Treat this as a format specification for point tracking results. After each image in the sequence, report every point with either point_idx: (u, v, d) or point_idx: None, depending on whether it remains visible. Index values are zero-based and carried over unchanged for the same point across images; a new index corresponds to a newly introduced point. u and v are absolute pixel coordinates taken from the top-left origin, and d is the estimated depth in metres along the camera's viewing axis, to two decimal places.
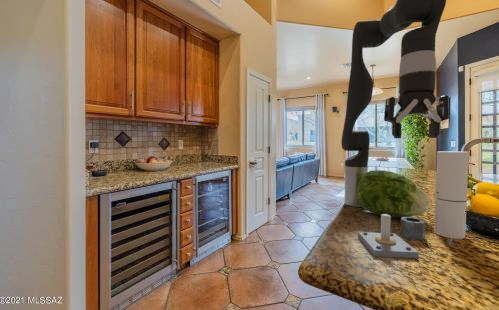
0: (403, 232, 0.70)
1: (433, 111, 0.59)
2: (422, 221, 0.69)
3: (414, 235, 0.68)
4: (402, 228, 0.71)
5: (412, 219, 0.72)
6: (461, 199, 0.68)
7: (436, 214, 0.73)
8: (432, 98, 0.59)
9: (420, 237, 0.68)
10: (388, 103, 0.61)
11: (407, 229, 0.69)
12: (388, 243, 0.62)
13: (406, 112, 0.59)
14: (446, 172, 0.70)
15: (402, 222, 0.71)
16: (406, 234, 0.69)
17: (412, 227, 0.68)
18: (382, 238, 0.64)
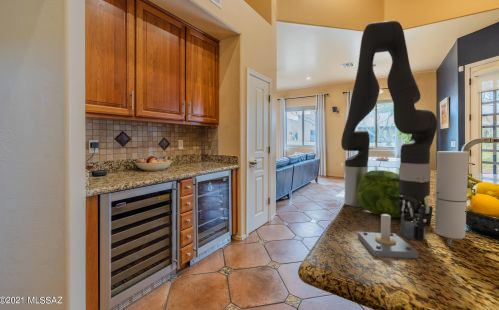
0: (403, 232, 0.70)
1: None
2: None
3: None
4: (402, 228, 0.71)
5: (412, 219, 0.72)
6: (461, 199, 0.68)
7: (436, 214, 0.73)
8: None
9: None
10: (429, 212, 0.64)
11: (407, 229, 0.69)
12: (388, 243, 0.62)
13: None
14: (446, 172, 0.70)
15: (402, 222, 0.71)
16: (406, 234, 0.69)
17: (412, 227, 0.68)
18: (382, 238, 0.64)
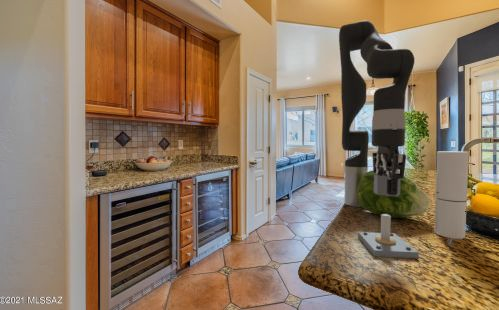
0: (376, 188, 0.63)
1: None
2: None
3: None
4: (375, 185, 0.64)
5: None
6: (461, 199, 0.68)
7: (436, 214, 0.73)
8: None
9: None
10: (402, 161, 0.56)
11: (380, 184, 0.62)
12: (388, 243, 0.62)
13: None
14: (446, 172, 0.70)
15: (375, 178, 0.64)
16: (379, 190, 0.62)
17: (385, 181, 0.61)
18: (382, 238, 0.64)
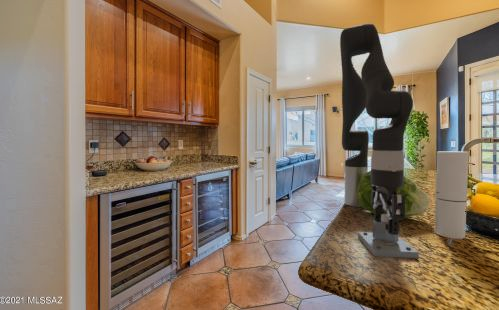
0: (375, 234, 0.64)
1: None
2: None
3: (386, 237, 0.61)
4: (373, 229, 0.65)
5: None
6: (461, 199, 0.68)
7: (436, 214, 0.73)
8: None
9: (392, 240, 0.61)
10: (401, 201, 0.56)
11: (379, 231, 0.63)
12: (388, 243, 0.62)
13: None
14: (446, 172, 0.70)
15: (374, 223, 0.64)
16: (378, 236, 0.63)
17: (384, 228, 0.62)
18: None
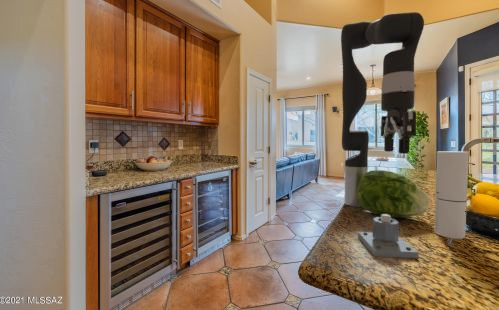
0: (375, 234, 0.64)
1: None
2: (395, 222, 0.62)
3: (386, 237, 0.61)
4: (373, 229, 0.65)
5: None
6: (461, 199, 0.68)
7: (436, 214, 0.73)
8: None
9: (392, 240, 0.61)
10: (413, 117, 0.58)
11: (379, 231, 0.63)
12: (388, 243, 0.62)
13: None
14: (446, 172, 0.70)
15: (374, 223, 0.64)
16: (378, 236, 0.63)
17: (384, 228, 0.62)
18: None
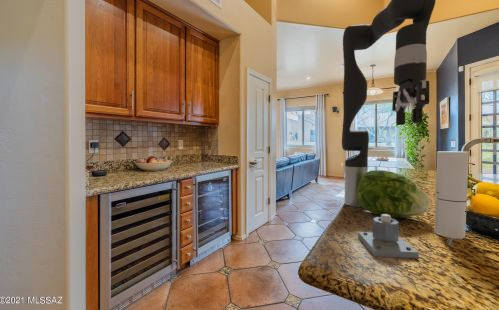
0: (375, 234, 0.64)
1: None
2: (395, 222, 0.62)
3: (386, 237, 0.61)
4: (373, 229, 0.65)
5: None
6: (461, 199, 0.68)
7: (436, 214, 0.73)
8: None
9: (392, 240, 0.61)
10: (426, 86, 0.60)
11: (379, 231, 0.63)
12: (388, 243, 0.62)
13: None
14: (446, 172, 0.70)
15: (374, 223, 0.64)
16: (378, 236, 0.63)
17: (384, 228, 0.62)
18: None
